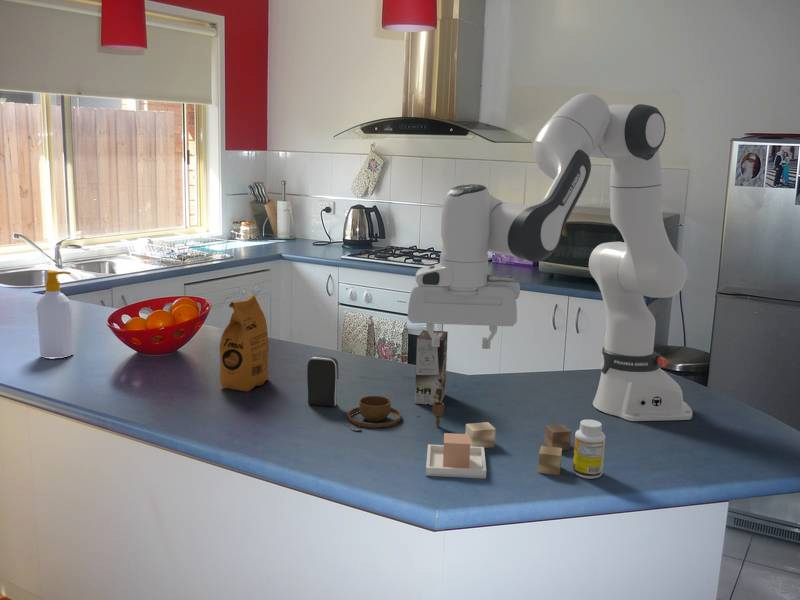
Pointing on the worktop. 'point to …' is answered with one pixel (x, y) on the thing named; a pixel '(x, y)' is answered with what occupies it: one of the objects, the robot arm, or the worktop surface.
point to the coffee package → (244, 347)
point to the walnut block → (558, 436)
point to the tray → (436, 468)
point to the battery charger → (322, 381)
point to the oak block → (550, 460)
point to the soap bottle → (55, 320)
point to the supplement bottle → (589, 450)
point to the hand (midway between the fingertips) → (460, 347)
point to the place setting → (384, 411)
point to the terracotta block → (456, 450)
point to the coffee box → (430, 368)
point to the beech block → (481, 434)
